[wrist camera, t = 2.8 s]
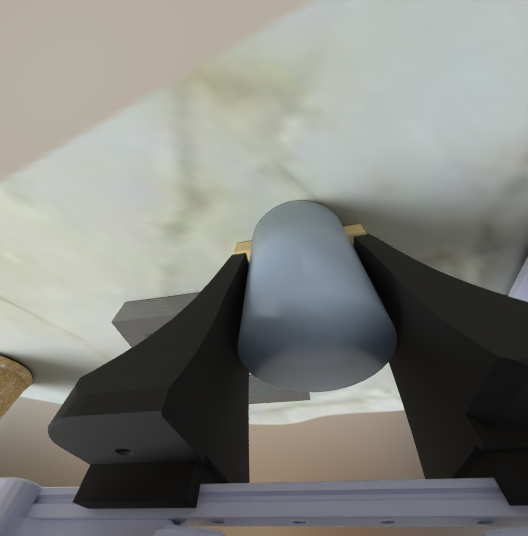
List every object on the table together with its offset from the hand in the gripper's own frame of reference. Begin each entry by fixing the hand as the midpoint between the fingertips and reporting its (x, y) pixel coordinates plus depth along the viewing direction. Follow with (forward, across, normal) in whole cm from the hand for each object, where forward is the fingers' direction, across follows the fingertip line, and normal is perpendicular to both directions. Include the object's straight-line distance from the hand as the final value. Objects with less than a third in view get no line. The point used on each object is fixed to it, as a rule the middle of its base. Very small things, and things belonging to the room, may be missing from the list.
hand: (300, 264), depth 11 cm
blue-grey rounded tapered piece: (+2, 0, 0) cm, 2 cm away
